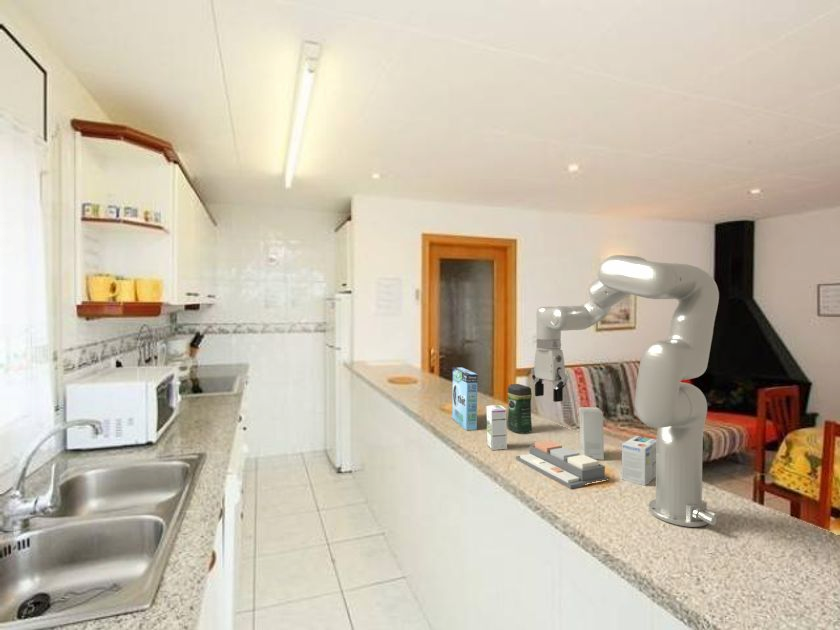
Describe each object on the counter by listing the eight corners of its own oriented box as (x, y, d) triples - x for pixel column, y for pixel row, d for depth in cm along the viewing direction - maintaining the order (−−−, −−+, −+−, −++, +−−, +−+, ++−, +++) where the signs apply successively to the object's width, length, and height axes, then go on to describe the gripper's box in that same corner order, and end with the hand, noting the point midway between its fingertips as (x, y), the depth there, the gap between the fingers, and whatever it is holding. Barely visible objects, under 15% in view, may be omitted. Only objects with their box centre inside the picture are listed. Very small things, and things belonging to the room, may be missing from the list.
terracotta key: (562, 453, 141) (562, 445, 141) (546, 456, 138) (546, 448, 138) (549, 447, 146) (549, 440, 146) (534, 450, 144) (534, 442, 144)
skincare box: (604, 460, 142) (604, 412, 142) (582, 459, 143) (582, 411, 143) (598, 452, 150) (599, 406, 150) (578, 451, 151) (578, 406, 151)
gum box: (452, 419, 195) (451, 367, 195) (463, 418, 196) (462, 367, 196) (466, 431, 176) (465, 374, 176) (478, 430, 177) (478, 373, 177)
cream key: (598, 469, 127) (598, 461, 127) (582, 472, 124) (582, 464, 124) (583, 462, 132) (583, 454, 132) (567, 465, 130) (567, 457, 130)
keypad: (609, 480, 126) (609, 466, 126) (570, 488, 120) (570, 474, 120) (550, 453, 149) (550, 441, 149) (516, 459, 143) (515, 447, 143)
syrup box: (507, 449, 153) (507, 408, 153) (491, 450, 152) (491, 409, 152) (501, 444, 159) (501, 404, 159) (486, 445, 158) (486, 405, 158)
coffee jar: (535, 432, 173) (535, 385, 173) (518, 435, 170) (518, 387, 170) (521, 426, 182) (521, 382, 182) (504, 428, 179) (504, 383, 179)
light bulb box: (634, 469, 134) (634, 434, 134) (658, 475, 129) (658, 439, 129) (620, 479, 127) (621, 442, 126) (645, 486, 122) (646, 447, 122)
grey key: (579, 461, 134) (579, 453, 134) (563, 464, 131) (563, 455, 131) (565, 455, 139) (565, 447, 139) (550, 457, 137) (550, 449, 137)
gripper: (577, 346, 135) (576, 402, 136) (540, 342, 151) (540, 392, 152) (557, 347, 132) (557, 405, 133) (522, 343, 148) (522, 394, 149)
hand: (548, 398), depth 142 cm, fingers open, 8 cm apart
